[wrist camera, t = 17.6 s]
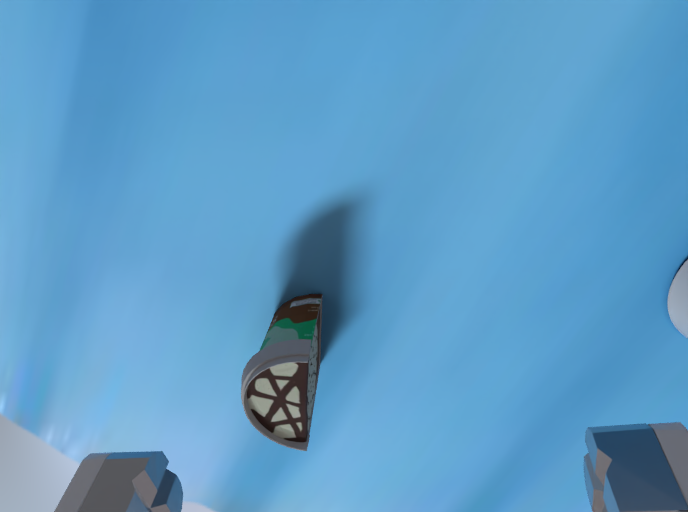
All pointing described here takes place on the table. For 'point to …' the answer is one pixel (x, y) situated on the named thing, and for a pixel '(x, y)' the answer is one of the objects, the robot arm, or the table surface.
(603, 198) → the table surface
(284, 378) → the food container
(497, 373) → the table surface
